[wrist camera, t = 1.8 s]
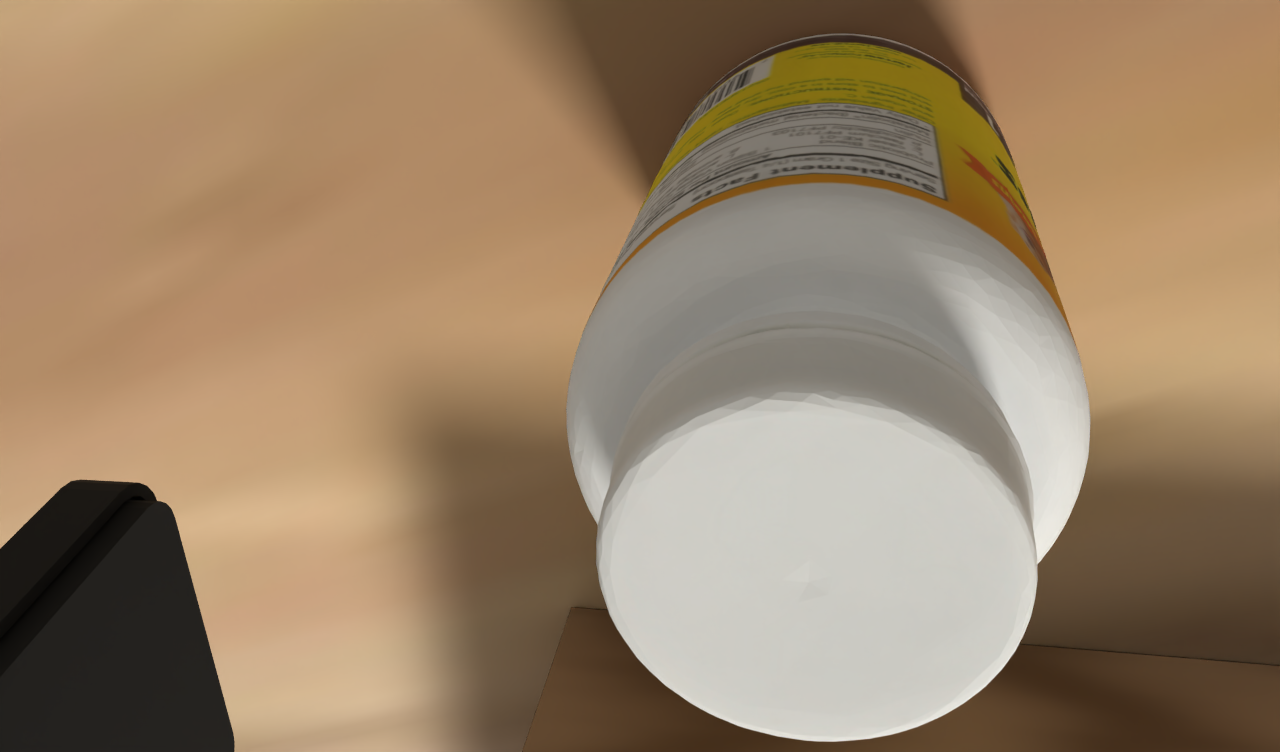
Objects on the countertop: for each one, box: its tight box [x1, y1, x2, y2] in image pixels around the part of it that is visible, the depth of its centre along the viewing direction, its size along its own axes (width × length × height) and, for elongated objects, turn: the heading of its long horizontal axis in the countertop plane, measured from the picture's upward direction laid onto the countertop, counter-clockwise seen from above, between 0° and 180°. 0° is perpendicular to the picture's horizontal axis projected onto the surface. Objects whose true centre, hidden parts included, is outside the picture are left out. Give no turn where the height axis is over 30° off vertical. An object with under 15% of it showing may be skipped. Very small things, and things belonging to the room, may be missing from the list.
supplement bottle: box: [566, 34, 1090, 742], centre depth 15 cm, size 6×6×10 cm
